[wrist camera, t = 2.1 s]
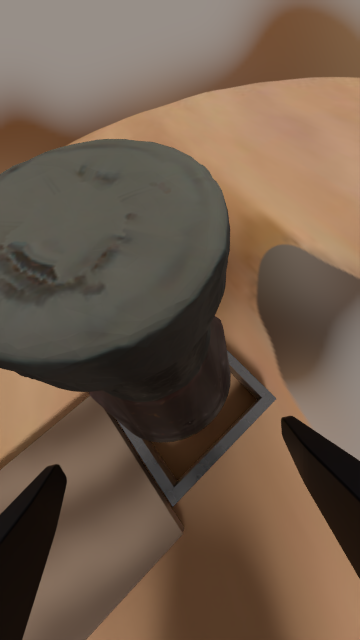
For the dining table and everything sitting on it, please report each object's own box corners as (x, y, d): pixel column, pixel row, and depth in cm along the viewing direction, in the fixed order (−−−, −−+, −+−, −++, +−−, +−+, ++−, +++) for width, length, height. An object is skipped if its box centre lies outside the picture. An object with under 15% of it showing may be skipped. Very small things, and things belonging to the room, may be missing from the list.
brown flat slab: (184, 527, 17) (183, 533, 16) (-41, 770, 13) (-59, 796, 12) (98, 393, 22) (93, 392, 21) (-83, 543, 18) (-98, 550, 17)
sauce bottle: (168, 446, 19) (-478, 949, 1) (138, 383, 22) (-195, 204, 4) (231, 406, 20) (492, 288, 2) (195, 349, 22) (157, 66, 4)
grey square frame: (269, 400, 20) (276, 398, 18) (176, 497, 17) (172, 506, 16) (188, 318, 24) (186, 310, 22) (104, 388, 22) (95, 386, 20)
